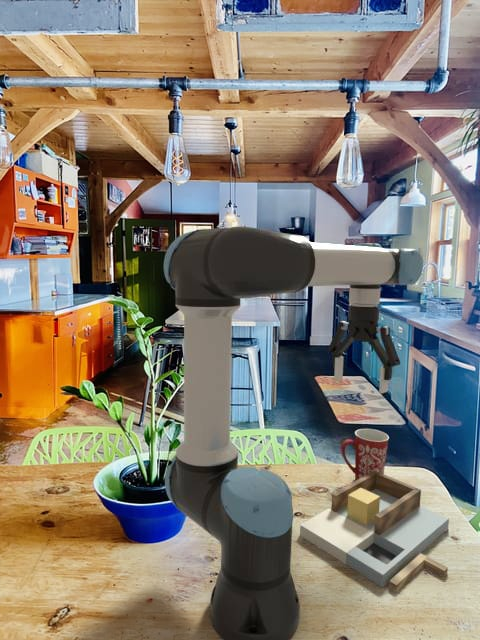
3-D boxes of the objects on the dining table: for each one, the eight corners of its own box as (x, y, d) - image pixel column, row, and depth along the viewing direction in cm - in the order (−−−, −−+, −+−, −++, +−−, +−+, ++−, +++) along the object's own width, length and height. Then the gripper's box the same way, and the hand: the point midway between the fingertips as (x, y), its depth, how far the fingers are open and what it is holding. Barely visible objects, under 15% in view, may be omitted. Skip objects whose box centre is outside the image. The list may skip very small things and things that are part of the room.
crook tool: (417, 605, 75) (417, 598, 75) (389, 587, 79) (389, 580, 79) (447, 574, 83) (447, 567, 82) (420, 559, 87) (420, 553, 86)
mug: (380, 473, 123) (382, 428, 121) (390, 489, 114) (393, 441, 112) (336, 472, 123) (338, 427, 121) (343, 488, 114) (345, 440, 112)
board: (382, 587, 79) (383, 574, 78) (299, 535, 94) (300, 524, 93) (448, 528, 97) (449, 518, 97) (370, 492, 112) (370, 484, 112)
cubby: (379, 535, 90) (380, 517, 90) (331, 509, 99) (331, 493, 99) (419, 505, 102) (421, 489, 101) (373, 485, 111) (374, 470, 111)
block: (366, 525, 93) (367, 504, 93) (347, 515, 97) (348, 494, 97) (378, 517, 97) (380, 496, 96) (359, 507, 100) (360, 487, 100)
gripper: (418, 308, 102) (412, 394, 104) (333, 301, 120) (329, 374, 123) (402, 310, 97) (396, 400, 99) (316, 302, 116) (313, 378, 118)
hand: (359, 386), depth 111 cm, fingers open, 13 cm apart
